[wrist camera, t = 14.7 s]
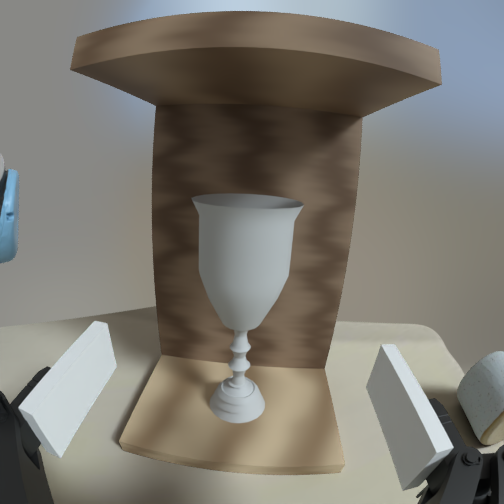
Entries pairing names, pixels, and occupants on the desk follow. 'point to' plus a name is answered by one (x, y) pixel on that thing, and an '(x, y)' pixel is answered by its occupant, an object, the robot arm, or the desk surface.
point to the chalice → (243, 280)
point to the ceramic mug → (485, 398)
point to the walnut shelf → (261, 183)
